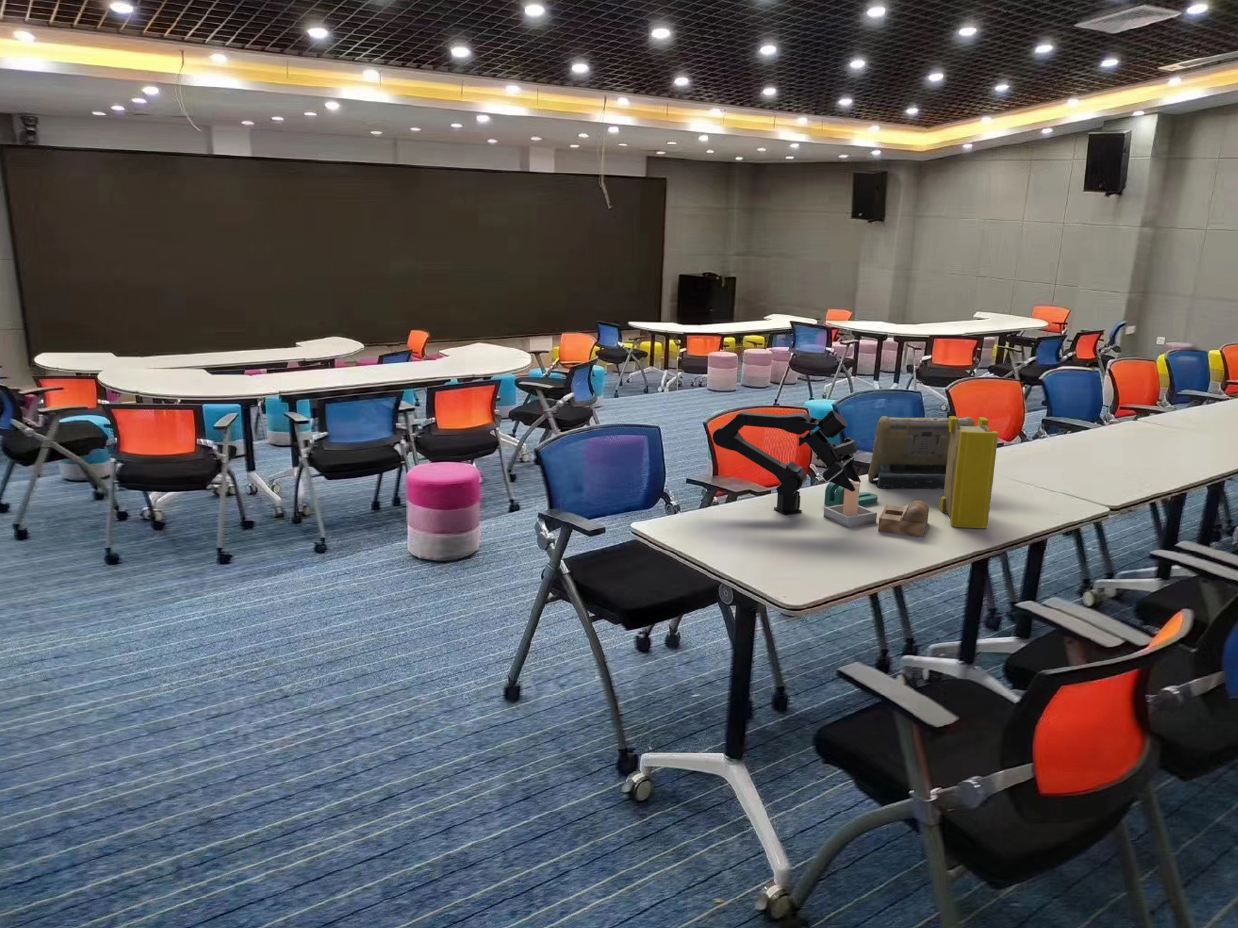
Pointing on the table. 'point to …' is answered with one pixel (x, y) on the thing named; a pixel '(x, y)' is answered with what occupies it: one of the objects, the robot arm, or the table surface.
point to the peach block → (851, 500)
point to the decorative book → (969, 473)
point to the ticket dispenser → (905, 519)
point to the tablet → (912, 452)
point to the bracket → (836, 496)
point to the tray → (862, 518)
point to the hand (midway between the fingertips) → (857, 486)
